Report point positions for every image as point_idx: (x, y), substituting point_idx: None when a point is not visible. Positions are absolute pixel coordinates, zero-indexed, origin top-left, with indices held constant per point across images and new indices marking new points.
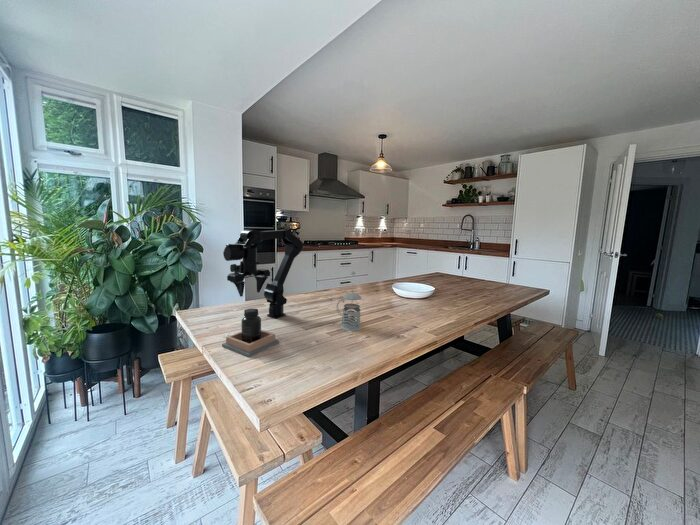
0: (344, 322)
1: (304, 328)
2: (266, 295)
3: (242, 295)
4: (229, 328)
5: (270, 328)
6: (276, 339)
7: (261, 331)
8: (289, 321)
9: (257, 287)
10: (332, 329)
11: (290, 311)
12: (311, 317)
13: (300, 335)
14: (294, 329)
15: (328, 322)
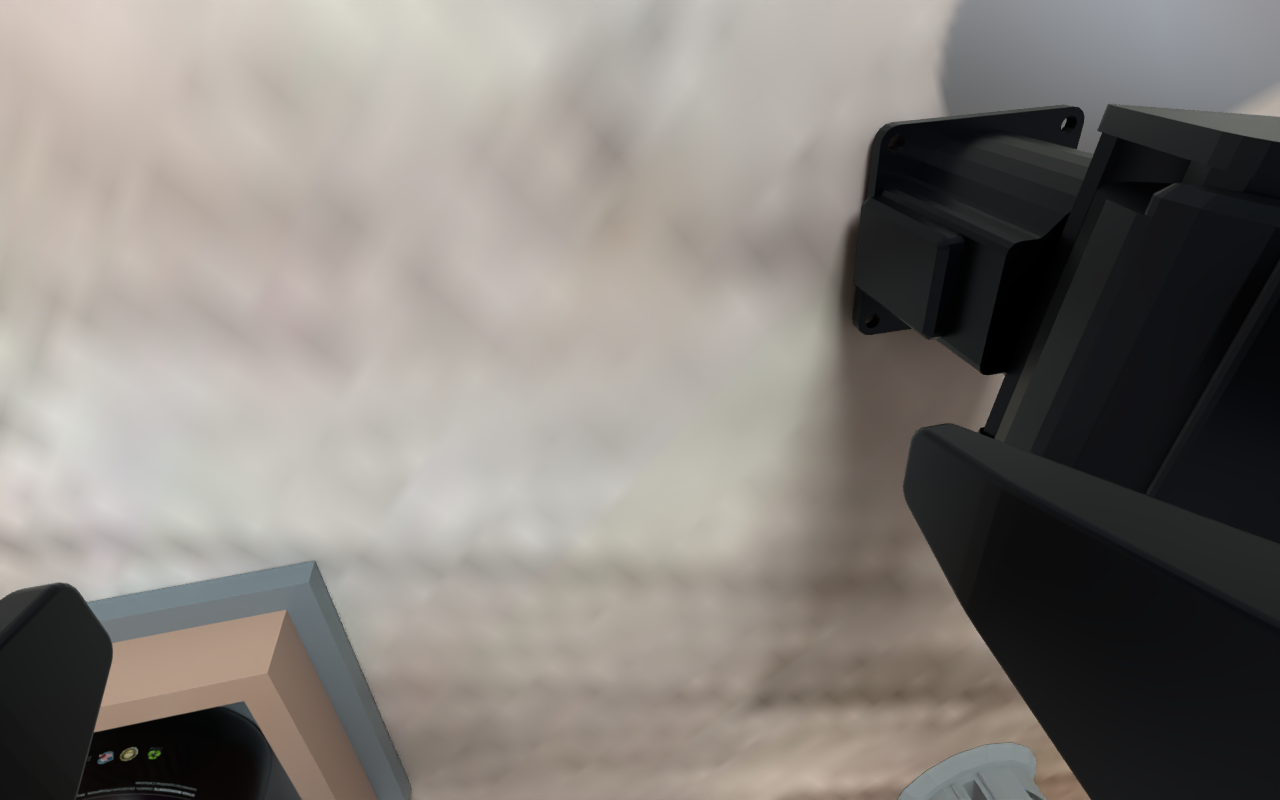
0: (995, 773)
1: (770, 682)
2: (1109, 324)
3: (87, 704)
4: (87, 184)
5: (565, 533)
6: (400, 796)
7: (295, 787)
8: (846, 492)
9: (1058, 565)
10: (864, 774)
11: None
12: None
13: (633, 759)
14: (701, 661)
15: (983, 681)
